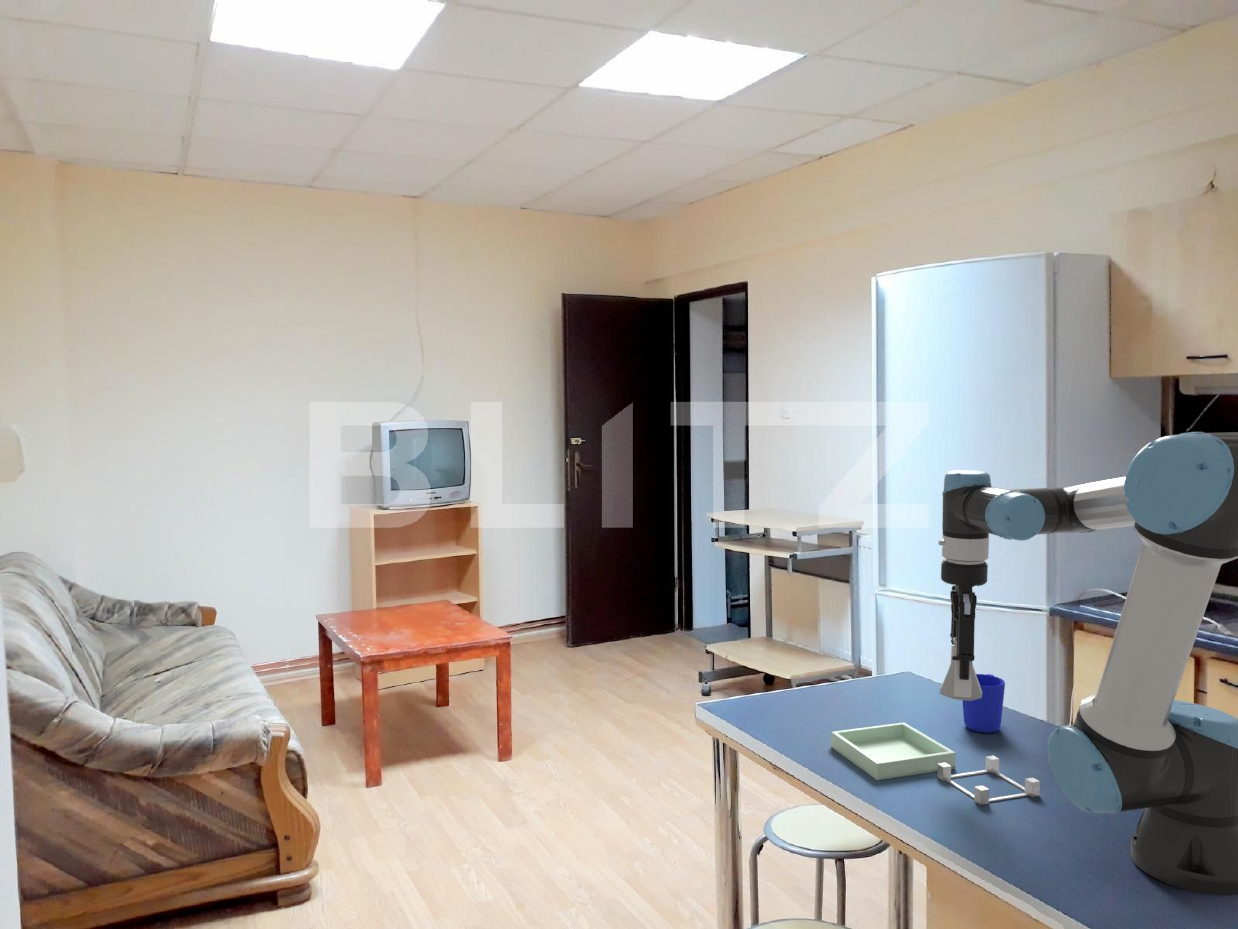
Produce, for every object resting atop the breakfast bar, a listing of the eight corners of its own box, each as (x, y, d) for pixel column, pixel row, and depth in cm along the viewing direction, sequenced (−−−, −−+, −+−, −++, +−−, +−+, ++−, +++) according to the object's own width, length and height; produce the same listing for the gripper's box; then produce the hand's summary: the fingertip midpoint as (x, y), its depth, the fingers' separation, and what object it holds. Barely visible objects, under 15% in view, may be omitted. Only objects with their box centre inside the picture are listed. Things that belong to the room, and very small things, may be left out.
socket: (1039, 795, 153) (1039, 781, 153) (980, 805, 150) (980, 790, 150) (992, 769, 164) (993, 755, 164) (937, 777, 161) (937, 763, 161)
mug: (1010, 720, 189) (1011, 672, 188) (1000, 739, 179) (1000, 689, 178) (969, 713, 193) (969, 666, 192) (956, 731, 183) (957, 682, 182)
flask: (989, 694, 160) (991, 638, 159) (973, 705, 155) (974, 648, 154) (949, 684, 165) (950, 630, 164) (932, 695, 160) (933, 639, 159)
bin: (955, 768, 165) (955, 752, 165) (877, 780, 160) (877, 763, 160) (903, 737, 180) (904, 722, 180) (831, 747, 176) (831, 732, 175)
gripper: (937, 548, 168) (933, 669, 171) (946, 570, 149) (942, 707, 152) (980, 550, 166) (976, 673, 169) (995, 573, 148) (990, 711, 150)
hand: (960, 688), depth 160 cm, fingers closed on flask, 7 cm apart
